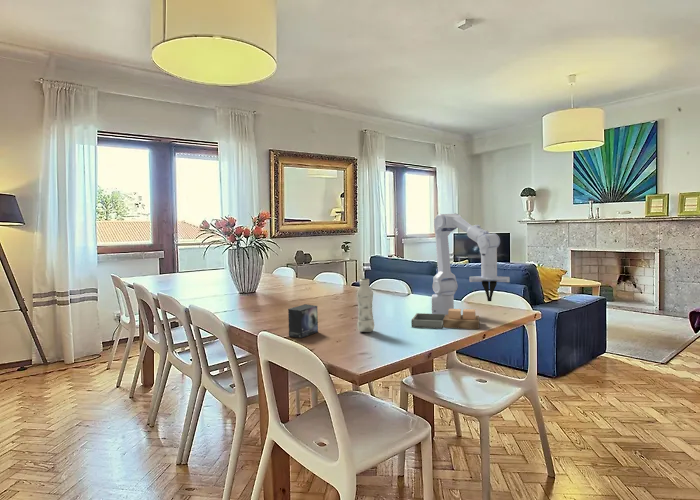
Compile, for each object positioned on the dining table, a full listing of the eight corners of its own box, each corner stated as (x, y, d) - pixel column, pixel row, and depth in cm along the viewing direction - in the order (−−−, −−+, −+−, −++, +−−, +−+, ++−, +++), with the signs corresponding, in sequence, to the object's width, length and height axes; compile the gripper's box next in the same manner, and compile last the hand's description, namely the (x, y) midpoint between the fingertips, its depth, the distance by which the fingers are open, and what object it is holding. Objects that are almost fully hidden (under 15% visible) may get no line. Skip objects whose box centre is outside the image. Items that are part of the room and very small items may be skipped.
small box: (302, 338, 158) (300, 310, 157) (288, 336, 161) (286, 308, 161) (319, 332, 167) (318, 305, 166) (305, 330, 170) (304, 303, 169)
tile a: (463, 319, 168) (462, 311, 168) (463, 316, 172) (463, 309, 172) (475, 319, 166) (475, 311, 166) (475, 316, 171) (475, 309, 170)
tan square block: (448, 318, 169) (448, 310, 169) (449, 316, 174) (449, 308, 174) (460, 318, 168) (460, 311, 168) (461, 316, 172) (461, 308, 172)
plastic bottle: (376, 330, 167) (375, 278, 166) (371, 334, 160) (370, 280, 159) (360, 329, 169) (359, 278, 168) (355, 333, 163) (353, 280, 161)
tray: (411, 327, 170) (411, 320, 170) (416, 319, 182) (416, 313, 182) (441, 328, 166) (441, 321, 166) (444, 320, 179) (444, 314, 178)
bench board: (443, 327, 168) (443, 319, 167) (445, 321, 177) (445, 314, 177) (478, 329, 164) (478, 321, 163) (479, 323, 173) (479, 315, 173)
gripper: (468, 266, 164) (469, 302, 165) (509, 266, 160) (510, 303, 160) (469, 264, 171) (470, 298, 172) (509, 264, 166) (509, 299, 167)
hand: (489, 300), depth 167 cm, fingers closed
